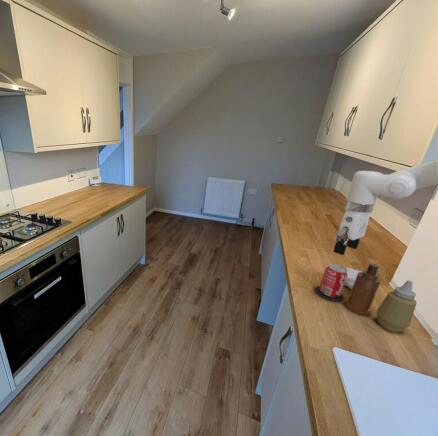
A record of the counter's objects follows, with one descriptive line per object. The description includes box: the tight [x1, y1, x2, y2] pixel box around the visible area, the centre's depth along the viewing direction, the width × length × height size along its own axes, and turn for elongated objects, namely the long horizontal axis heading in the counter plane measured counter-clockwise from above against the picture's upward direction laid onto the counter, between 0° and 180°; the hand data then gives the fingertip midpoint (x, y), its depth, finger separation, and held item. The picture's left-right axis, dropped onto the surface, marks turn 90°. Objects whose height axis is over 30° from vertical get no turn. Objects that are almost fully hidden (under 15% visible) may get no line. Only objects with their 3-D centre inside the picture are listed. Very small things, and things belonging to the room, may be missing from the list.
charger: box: [344, 267, 363, 291], centre depth 100 cm, size 5×9×15 cm
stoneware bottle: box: [345, 262, 383, 316], centre depth 85 cm, size 6×6×19 cm
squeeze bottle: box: [376, 279, 417, 333], centre depth 78 cm, size 8×8×18 cm
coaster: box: [315, 286, 344, 303], centre depth 96 cm, size 9×9×1 cm
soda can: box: [319, 263, 347, 297], centre depth 94 cm, size 7×7×12 cm
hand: (345, 250), depth 89 cm, fingers open, 9 cm apart
